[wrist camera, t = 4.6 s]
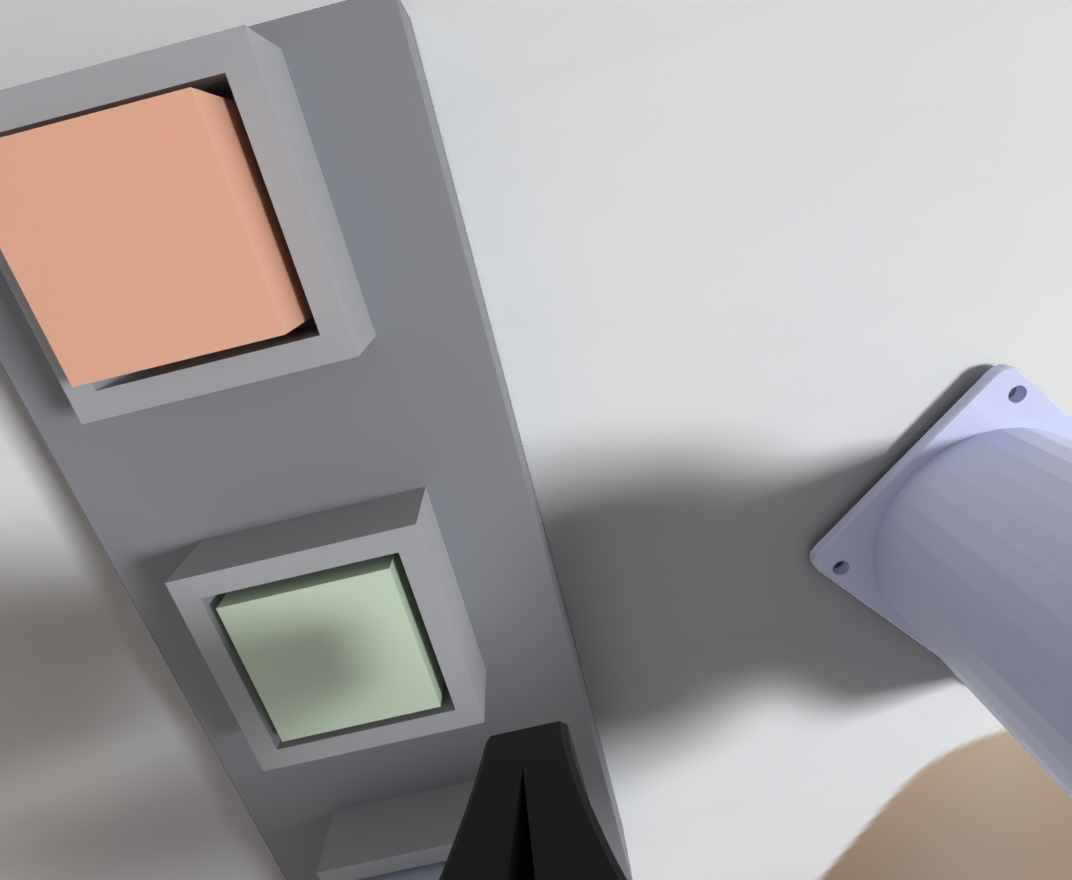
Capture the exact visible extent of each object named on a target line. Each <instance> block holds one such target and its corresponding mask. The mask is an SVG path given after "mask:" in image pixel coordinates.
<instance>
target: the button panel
mask: <svg viewBox="0 0 1072 880" xmlns="http://www.w3.org/2000/svg"><path fill="white" fill-rule="evenodd" d="M189 87H192V88H195V89H198V90H201V91H204V92H207V93H210V94H213V95H216V96H219V97H222V98H225V99H228V100H231V101H234V102H236V104H237V107H238V109H239V112H240V115H241V118H242V120H243V123H244V126H245V129H246V132H247V134H248V137H249V140H250V143H251V145H252V148H253V151H254V154H255V156H256V159H257V162H258V165H259V168H260V170H261V173H262V176H263V179H264V181H265V184H266V187H267V190H268V192H269V195H270V198H271V201H272V203H273V206H274V209H275V212H276V215H277V217H278V220H279V223H280V226H281V228H282V231H283V234H284V237H285V239H286V242H287V245H288V248H289V251H290V253H291V256H292V259H293V262H294V264H295V267H296V270H297V273H298V275H299V278H300V281H301V284H302V286H303V289H304V292H305V295H306V298H307V300H308V303H309V306H310V309H311V311H312V314H313V317H311V318H310V319H308V320H307V321H305V322H304V323H302V324H301V325H299V326H298V327H296V328H294V329H293V330H291V331H290V332H288V333H287V334H285V335H282V336H278V337H274V338H270V339H266V340H262V341H258V342H254V343H250V344H246V345H242V346H238V347H234V348H230V349H225V350H221V351H217V352H213V353H209V354H205V355H201V356H197V357H193V358H189V359H185V360H181V361H177V362H173V363H169V364H165V365H161V366H157V367H153V368H149V369H145V370H141V371H137V372H133V373H129V374H125V375H121V376H117V377H113V378H109V379H105V380H101V381H97V382H93V383H89V384H84V385H80V386H76V387H72V386H71V384H70V382H69V380H68V378H67V376H66V374H65V373H64V371H63V369H62V367H61V365H60V363H59V361H58V359H57V357H56V355H55V353H54V351H53V349H52V347H51V345H50V344H49V342H48V340H47V338H46V336H45V334H44V332H43V330H42V328H41V326H40V324H39V322H38V320H37V318H36V317H35V315H34V313H33V311H32V309H31V307H30V305H29V303H28V301H27V299H26V297H25V295H24V293H23V291H22V289H21V288H20V286H19V284H18V282H17V280H16V278H15V276H14V274H13V272H12V270H11V268H10V266H9V264H8V262H7V261H6V259H5V257H4V255H3V253H2V251H1V249H0V362H1V363H2V365H3V367H4V369H5V371H6V373H7V374H8V376H9V378H10V380H11V382H12V383H13V385H14V387H15V389H16V391H17V392H18V394H19V396H20V398H21V400H22V402H23V403H24V405H25V407H26V409H27V411H28V412H29V414H30V416H31V418H32V420H33V421H34V423H35V425H36V427H37V429H38V431H39V432H40V434H41V436H42V438H43V440H44V441H45V443H46V445H47V447H48V449H49V450H50V452H51V454H52V456H53V458H54V460H55V461H56V463H57V465H58V467H59V469H60V470H61V472H62V474H63V476H64V478H65V480H66V481H67V483H68V485H69V487H70V489H71V490H72V492H73V494H74V496H75V498H76V499H77V501H78V503H79V505H80V507H81V509H82V510H83V512H84V514H85V516H86V518H87V519H88V521H89V523H90V525H91V527H92V528H93V530H94V532H95V534H96V536H97V538H98V539H99V541H100V543H101V545H102V547H103V548H104V550H105V552H106V554H107V556H108V557H109V559H110V561H111V563H112V565H113V567H114V568H115V570H116V572H117V574H118V576H119V577H120V579H121V581H122V583H123V585H124V586H125V588H126V590H127V592H128V594H129V596H130V597H131V599H132V601H133V603H134V605H135V606H136V608H137V610H138V612H139V614H140V615H141V617H142V619H143V621H144V623H145V625H146V626H147V628H148V630H149V632H150V634H151V635H152V637H153V639H154V641H155V643H156V644H157V646H158V648H159V650H160V652H161V654H162V655H163V657H164V659H165V661H166V663H167V664H168V666H169V668H170V670H171V672H172V674H173V675H174V677H175V679H176V681H177V683H178V684H179V686H180V688H181V690H182V692H183V693H184V695H185V697H186V699H187V701H188V703H189V704H190V706H191V708H192V710H193V712H194V713H195V715H196V717H197V719H198V721H199V722H200V724H201V726H202V728H203V730H204V732H205V733H206V735H207V737H208V739H209V741H210V742H211V744H212V746H213V748H214V750H215V751H216V753H217V755H218V757H219V759H220V761H221V762H222V764H223V766H224V768H225V770H226V771H227V773H228V775H229V777H230V779H231V780H232V782H233V784H234V786H235V788H236V790H237V791H238V793H239V795H240V797H241V799H242V800H243V802H244V804H245V806H246V808H247V809H248V811H249V813H250V815H251V817H252V819H253V820H254V822H255V824H256V826H257V828H258V829H259V831H260V833H261V835H262V837H263V838H264V840H265V842H266V844H267V846H268V848H269V849H270V851H271V853H272V855H273V857H274V858H275V860H276V862H277V864H278V866H279V867H280V869H281V871H282V873H283V875H284V877H285V878H286V880H359V879H363V878H368V877H372V876H377V875H382V874H386V873H391V872H396V871H400V870H405V869H410V868H414V867H419V866H424V865H429V864H433V863H438V862H443V861H447V858H448V856H449V853H450V850H451V848H452V845H453V842H454V840H455V837H456V834H457V832H458V829H459V826H460V824H461V821H462V818H463V816H464V813H465V810H466V807H467V804H468V801H469V798H470V795H471V792H472V789H473V786H474V783H475V779H476V776H477V773H478V770H479V766H480V763H481V759H482V756H483V752H484V748H485V744H486V742H487V740H488V739H489V738H490V736H493V735H497V734H502V733H506V732H511V731H516V730H520V729H525V728H529V727H534V726H538V725H543V724H547V723H552V722H557V721H561V722H563V723H565V724H567V725H568V727H569V731H570V734H571V738H572V741H573V745H574V748H575V752H576V755H577V759H578V762H579V766H580V769H581V773H582V776H583V780H584V783H585V787H586V790H587V794H588V797H589V801H590V804H591V806H592V809H593V811H594V813H595V815H596V818H597V820H598V822H599V824H600V826H601V829H602V831H603V833H604V835H605V838H606V840H607V842H608V844H609V846H610V848H611V850H612V852H613V854H614V856H615V858H616V860H617V862H618V864H619V865H620V867H621V869H622V871H623V873H624V875H625V877H626V879H627V880H633V879H632V874H631V869H630V864H629V858H628V853H627V848H626V842H625V837H624V832H623V826H622V822H621V819H620V815H619V811H618V807H617V803H616V800H615V796H614V792H613V788H612V784H611V781H610V777H609V773H608V769H607V765H606V762H605V758H604V754H603V750H602V746H601V743H600V739H599V735H598V731H597V727H596V723H595V720H594V716H593V712H592V708H591V704H590V701H589V697H588V693H587V689H586V685H585V682H584V678H583V674H582V670H581V666H580V663H579V659H578V655H577V651H576V647H575V644H574V640H573V636H572V632H571V628H570V625H569V621H568V617H567V613H566V609H565V606H564V602H563V598H562V594H561V590H560V587H559V583H558V579H557V575H556V571H555V568H554V564H553V560H552V556H551V552H550V548H549V545H548V541H547V537H546V533H545V529H544V526H543V522H542V518H541V514H540V510H539V507H538V503H537V499H536V495H535V491H534V488H533V484H532V480H531V476H530V472H529V469H528V465H527V461H526V457H525V453H524V450H523V446H522V442H521V438H520V434H519V431H518V427H517V423H516V419H515V415H514V412H513V408H512V404H511V400H510V396H509V392H508V389H507V385H506V381H505V377H504V373H503V370H502V366H501V362H500V358H499V354H498V351H497V347H496V343H495V339H494V335H493V332H492V328H491V324H490V320H489V316H488V313H487V309H486V305H485V301H484V297H483V294H482V290H481V286H480V282H479V278H478V275H477V271H476V267H475V263H474V259H473V256H472V252H471V248H470V244H469V240H468V237H467V233H466V229H465V225H464V221H463V217H462V214H461V210H460V206H459V202H458V198H457V195H456V191H455V187H454V183H453V179H452V176H451V172H450V168H449V164H448V160H447V157H446V153H445V149H444V145H443V141H442V138H441V134H440V130H439V126H438V122H437V119H436V115H435V111H434V107H433V103H432V100H431V96H430V92H429V88H428V84H427V81H426V77H425V73H424V69H423V65H422V61H421V58H420V54H419V50H418V46H417V42H416V39H415V35H414V31H413V27H412V23H411V20H410V17H409V16H408V14H407V12H406V10H405V8H404V6H403V4H402V3H401V1H400V0H346V1H342V2H339V3H335V4H331V5H327V6H324V7H320V8H316V9H313V10H309V11H305V12H301V13H298V14H294V15H290V16H286V17H283V18H279V19H275V20H271V21H268V22H264V23H260V24H257V25H253V26H249V27H247V26H245V25H243V26H239V27H236V28H232V29H228V30H224V31H221V32H217V33H213V34H210V35H206V36H202V37H198V38H195V39H191V40H187V41H183V42H180V43H176V44H172V45H169V46H165V47H161V48H157V49H154V50H150V51H146V52H142V53H139V54H135V55H131V56H127V57H124V58H120V59H116V60H113V61H109V62H105V63H101V64H98V65H94V66H90V67H86V68H83V69H79V70H75V71H72V72H68V73H64V74H60V75H57V76H53V77H49V78H45V79H42V80H38V81H34V82H31V83H27V84H23V85H19V86H16V87H12V88H8V89H4V90H1V91H0V138H1V137H4V136H8V135H12V134H16V133H20V132H23V131H27V130H31V129H35V128H38V127H42V126H46V125H50V124H53V123H57V122H61V121H65V120H69V119H72V118H76V117H80V116H84V115H87V114H91V113H95V112H99V111H103V110H106V109H110V108H114V107H118V106H121V105H125V104H129V103H133V102H136V101H140V100H144V99H148V98H152V97H155V96H159V95H163V94H167V93H170V92H174V91H178V90H182V89H186V88H189ZM398 552H399V555H400V558H401V560H402V563H403V566H404V569H405V571H406V574H407V577H408V580H409V583H410V585H411V588H412V591H413V594H414V596H415V599H416V602H417V605H418V607H419V610H420V613H421V616H422V618H423V621H424V624H425V627H426V630H427V632H428V635H429V638H430V641H431V643H432V646H433V649H434V652H435V654H436V657H437V660H438V663H439V666H440V668H441V671H442V674H443V677H444V683H443V691H442V700H441V707H436V708H432V709H427V710H423V711H418V712H414V713H410V714H405V715H401V716H396V717H392V718H387V719H383V720H378V721H374V722H369V723H365V724H360V725H356V726H351V727H347V728H342V729H338V730H333V731H329V732H324V733H320V734H315V735H311V736H306V737H302V738H297V739H293V740H288V741H284V742H282V740H281V738H280V736H279V734H278V732H277V730H276V728H275V726H274V724H273V722H272V720H271V718H270V716H269V714H268V712H267V710H266V708H265V706H264V704H263V702H262V700H261V698H260V696H259V694H258V692H257V690H256V688H255V686H254V684H253V682H252V680H251V678H250V676H249V674H248V672H247V670H246V668H245V666H244V664H243V662H242V660H241V658H240V656H239V654H238V652H237V650H236V648H235V646H234V644H233V642H232V640H231V638H230V636H229V634H228V632H227V630H226V628H225V626H224V624H223V622H222V620H221V618H220V616H219V614H218V612H217V610H216V608H217V607H218V605H219V604H220V602H221V601H222V599H223V598H224V596H225V595H226V594H227V592H231V591H235V590H239V589H244V588H248V587H252V586H257V585H261V584H265V583H269V582H274V581H278V580H282V579H287V578H291V577H295V576H299V575H304V574H308V573H312V572H317V571H321V570H325V569H329V568H334V567H338V566H342V565H347V564H351V563H355V562H360V561H364V560H368V559H372V558H377V557H381V556H385V555H390V554H394V553H398Z"/></svg>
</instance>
